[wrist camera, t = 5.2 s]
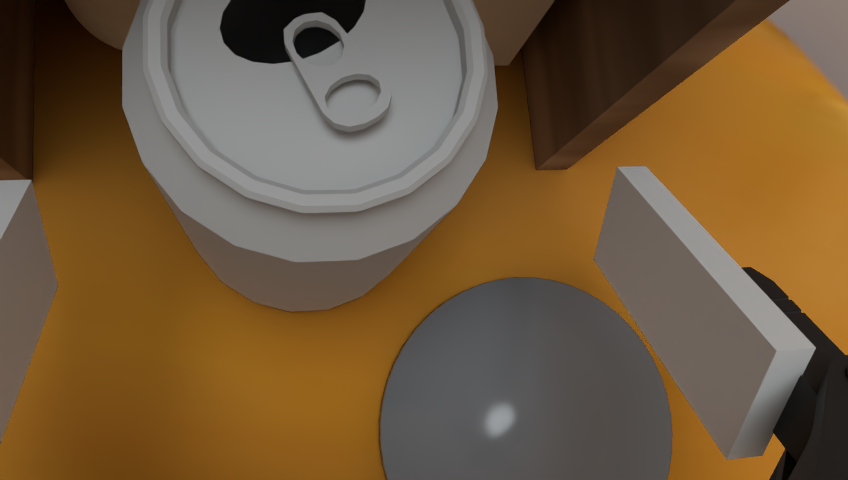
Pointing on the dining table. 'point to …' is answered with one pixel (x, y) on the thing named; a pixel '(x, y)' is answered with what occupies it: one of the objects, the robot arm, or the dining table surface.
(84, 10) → the candle
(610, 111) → the wooden box
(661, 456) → the coaster
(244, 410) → the dining table surface
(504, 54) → the block
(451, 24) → the can
